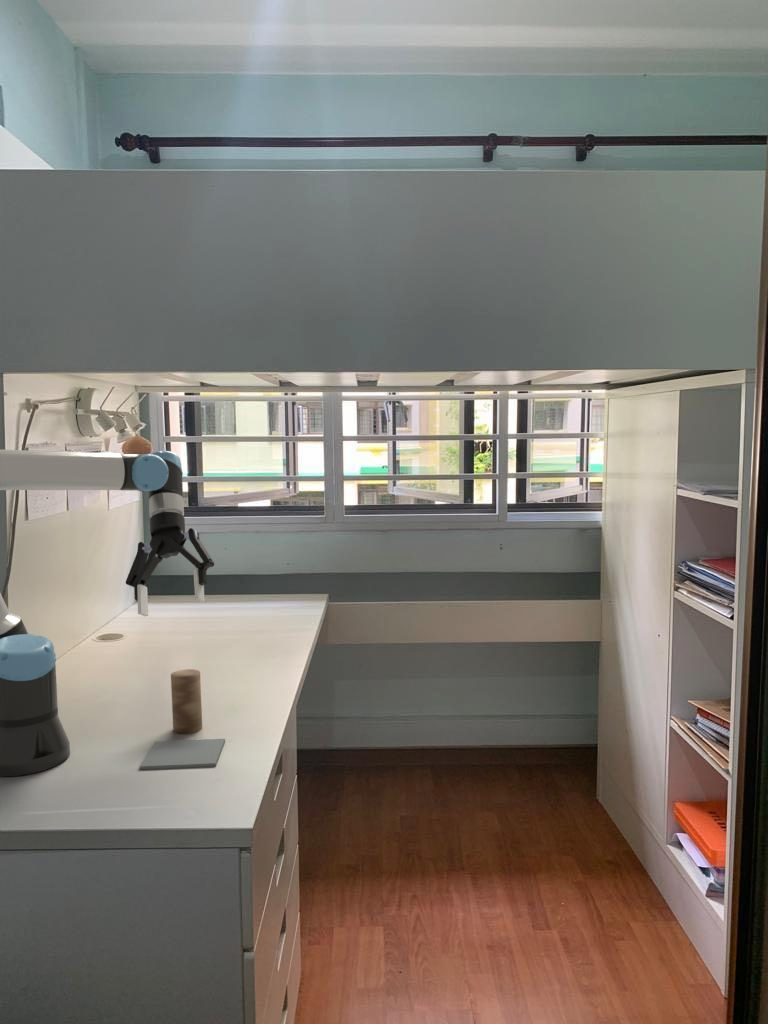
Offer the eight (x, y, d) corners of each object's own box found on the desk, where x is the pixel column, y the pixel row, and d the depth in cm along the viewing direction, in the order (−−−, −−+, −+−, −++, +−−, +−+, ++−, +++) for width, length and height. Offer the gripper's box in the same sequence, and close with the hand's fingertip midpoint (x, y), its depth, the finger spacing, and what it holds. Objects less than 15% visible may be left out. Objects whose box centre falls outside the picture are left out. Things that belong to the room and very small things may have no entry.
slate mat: (139, 769, 142) (139, 766, 142) (154, 744, 154) (154, 741, 154) (215, 766, 143) (215, 763, 142) (225, 741, 154) (225, 738, 154)
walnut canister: (170, 734, 159) (167, 678, 158) (176, 724, 165) (174, 669, 164) (199, 733, 159) (197, 677, 158) (204, 723, 165) (202, 668, 164)
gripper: (225, 508, 172) (232, 598, 163) (128, 535, 177) (130, 624, 169) (209, 497, 165) (215, 589, 157) (108, 525, 170) (109, 616, 162)
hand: (171, 607), depth 163 cm, fingers open, 13 cm apart
